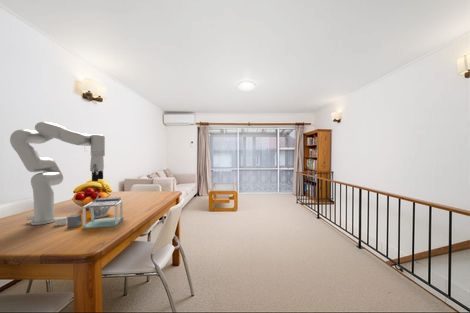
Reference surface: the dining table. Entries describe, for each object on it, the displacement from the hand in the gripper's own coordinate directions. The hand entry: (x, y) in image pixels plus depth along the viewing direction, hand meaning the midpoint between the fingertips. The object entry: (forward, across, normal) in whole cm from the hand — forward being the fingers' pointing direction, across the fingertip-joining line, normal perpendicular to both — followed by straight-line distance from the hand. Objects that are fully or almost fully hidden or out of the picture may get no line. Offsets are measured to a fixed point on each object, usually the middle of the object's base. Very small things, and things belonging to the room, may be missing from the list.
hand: (97, 180), depth 132 cm
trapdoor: (+17, +3, +6) cm, 18 cm away
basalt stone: (+27, +6, -10) cm, 29 cm away
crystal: (+27, -12, -2) cm, 29 cm away
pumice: (+27, +1, -19) cm, 33 cm away
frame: (+26, +7, +6) cm, 28 cm away
